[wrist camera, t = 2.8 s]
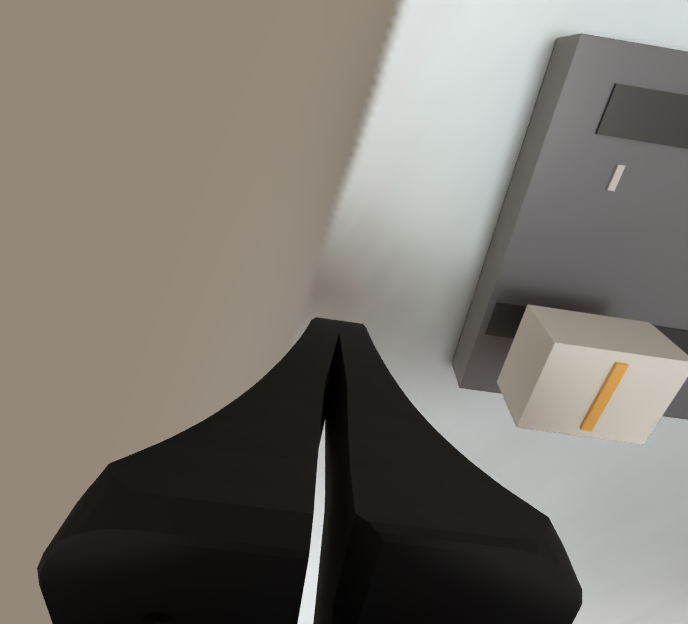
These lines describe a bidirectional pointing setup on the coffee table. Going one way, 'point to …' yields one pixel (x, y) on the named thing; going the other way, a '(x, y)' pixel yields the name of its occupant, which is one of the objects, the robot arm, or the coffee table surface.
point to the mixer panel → (592, 205)
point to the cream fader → (590, 375)
